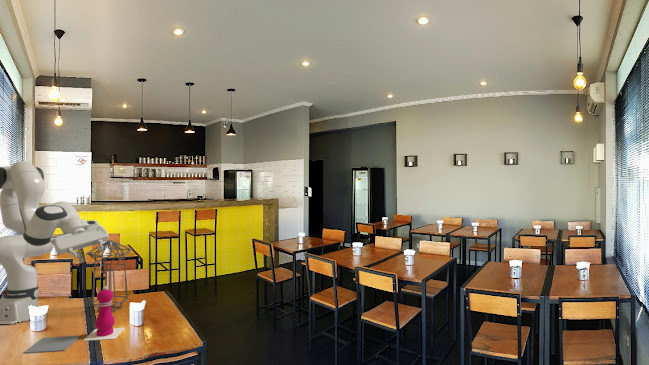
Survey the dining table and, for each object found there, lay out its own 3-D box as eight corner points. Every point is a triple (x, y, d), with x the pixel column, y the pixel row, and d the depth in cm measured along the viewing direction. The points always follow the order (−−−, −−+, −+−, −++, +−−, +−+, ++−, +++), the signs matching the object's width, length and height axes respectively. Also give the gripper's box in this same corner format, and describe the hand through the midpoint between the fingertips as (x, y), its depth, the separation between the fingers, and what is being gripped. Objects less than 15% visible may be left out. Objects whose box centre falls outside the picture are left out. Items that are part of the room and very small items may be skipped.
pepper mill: (106, 337, 162) (106, 289, 161) (90, 336, 163) (91, 287, 163) (118, 331, 169) (118, 284, 169) (103, 329, 170) (104, 283, 170)
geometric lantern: (133, 305, 203) (134, 238, 202) (113, 317, 188) (113, 244, 186) (106, 303, 206) (106, 237, 204) (83, 314, 190) (83, 242, 189)
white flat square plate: (83, 340, 159) (83, 340, 159) (95, 329, 171) (95, 329, 171) (115, 338, 161) (115, 338, 161) (124, 328, 173) (124, 327, 173)
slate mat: (23, 353, 147) (23, 352, 147) (43, 338, 161) (43, 337, 161) (64, 350, 150) (64, 349, 150) (80, 336, 163) (80, 335, 163)
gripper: (48, 232, 162) (63, 256, 157) (100, 219, 178) (115, 240, 173) (47, 242, 165) (61, 266, 160) (99, 229, 181) (113, 250, 176)
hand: (90, 252), depth 166 cm, fingers open, 8 cm apart
